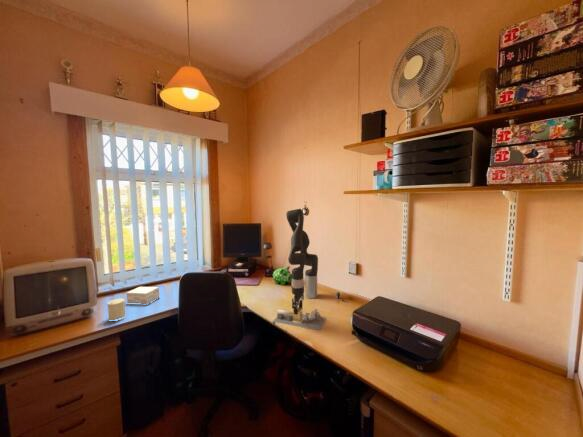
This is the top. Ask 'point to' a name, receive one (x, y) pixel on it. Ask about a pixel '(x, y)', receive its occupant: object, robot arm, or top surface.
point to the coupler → (298, 315)
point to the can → (116, 309)
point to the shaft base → (308, 320)
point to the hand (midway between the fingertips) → (298, 311)
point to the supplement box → (143, 295)
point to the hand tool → (353, 332)
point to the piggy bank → (282, 276)
